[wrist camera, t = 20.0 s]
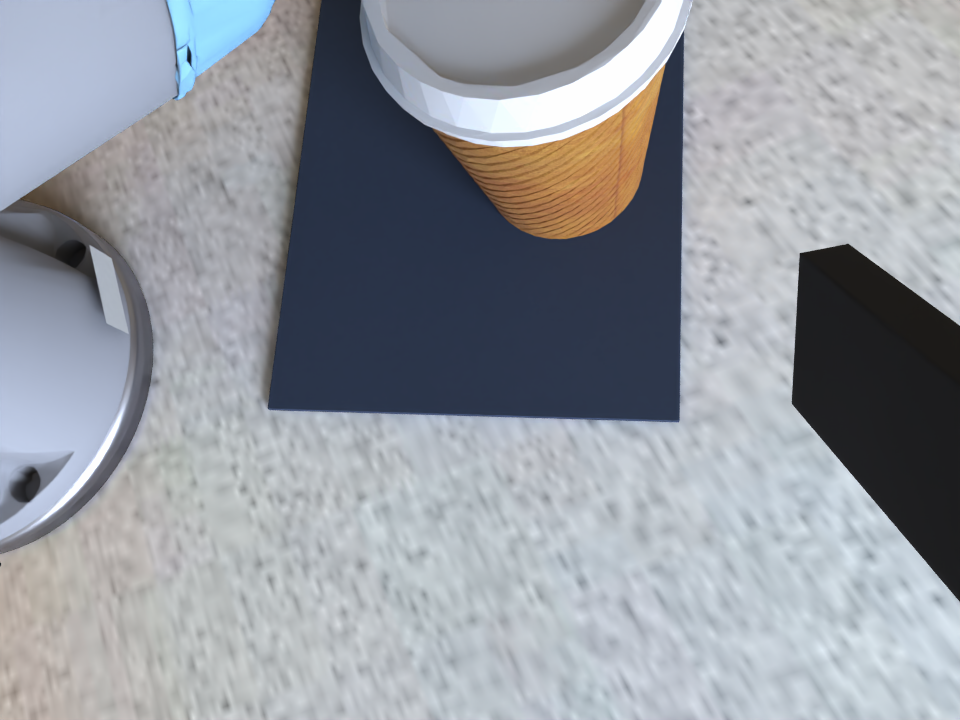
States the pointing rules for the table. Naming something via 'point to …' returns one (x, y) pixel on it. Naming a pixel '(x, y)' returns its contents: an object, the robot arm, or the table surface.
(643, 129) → the disposable coffee cup
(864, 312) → the robot arm
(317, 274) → the mat
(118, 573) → the table surface
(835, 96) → the table surface
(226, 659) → the table surface
